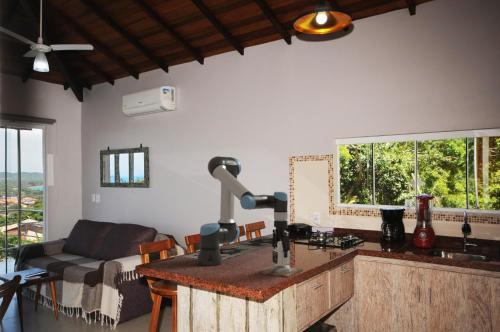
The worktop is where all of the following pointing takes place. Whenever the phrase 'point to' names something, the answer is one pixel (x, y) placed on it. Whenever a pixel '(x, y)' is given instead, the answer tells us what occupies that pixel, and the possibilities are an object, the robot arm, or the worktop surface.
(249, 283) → the worktop surface
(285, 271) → the stand
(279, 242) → the medicine bottle
